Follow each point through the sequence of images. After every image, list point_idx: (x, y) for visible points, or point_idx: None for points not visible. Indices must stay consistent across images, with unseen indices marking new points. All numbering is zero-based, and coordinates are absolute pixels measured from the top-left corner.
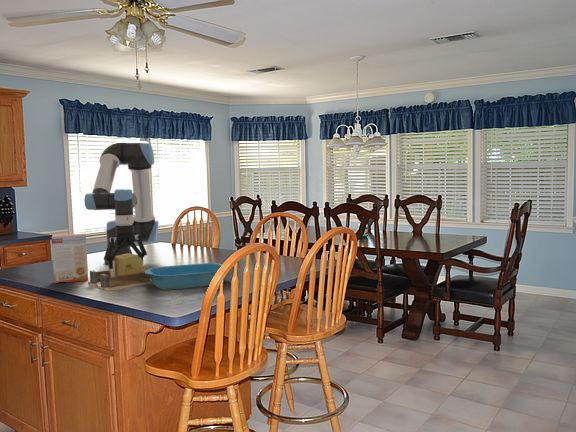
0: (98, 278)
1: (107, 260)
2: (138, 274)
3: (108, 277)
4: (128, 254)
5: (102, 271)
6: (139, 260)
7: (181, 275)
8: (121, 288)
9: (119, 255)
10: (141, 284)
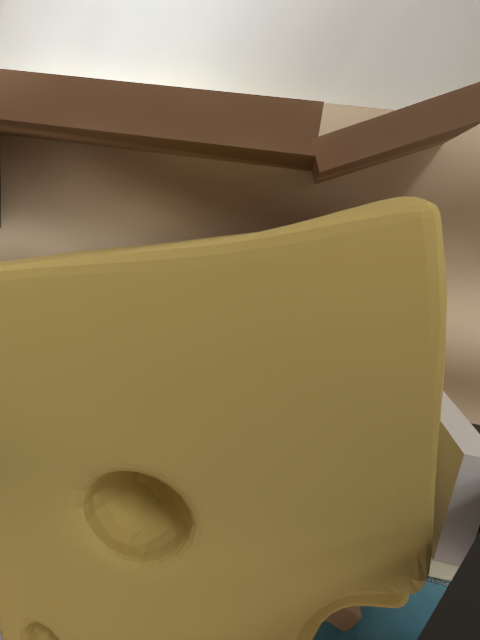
0: (31, 133)
1: None
2: None
3: (140, 148)
4: (301, 419)
5: (30, 123)
6: (346, 603)
7: None
8: None
9: (116, 309)
10: None
